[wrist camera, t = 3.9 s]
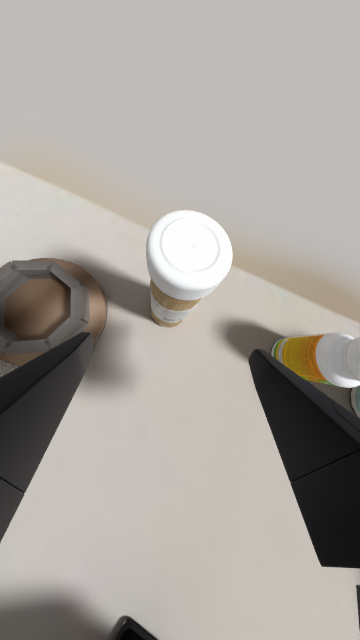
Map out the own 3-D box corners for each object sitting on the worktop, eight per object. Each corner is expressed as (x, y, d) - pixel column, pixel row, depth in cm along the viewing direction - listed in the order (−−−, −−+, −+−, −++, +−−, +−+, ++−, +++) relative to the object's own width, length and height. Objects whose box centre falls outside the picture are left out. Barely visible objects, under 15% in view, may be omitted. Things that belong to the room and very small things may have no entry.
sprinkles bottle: (187, 299, 22) (241, 221, 9) (181, 331, 21) (229, 299, 8) (154, 290, 21) (158, 193, 8) (146, 323, 20) (134, 273, 7)
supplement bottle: (275, 380, 22) (370, 403, 12) (265, 340, 22) (347, 333, 13) (308, 372, 23) (418, 388, 13) (297, 335, 23) (394, 324, 14)
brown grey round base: (128, 308, 20) (123, 299, 17) (50, 389, 17) (24, 398, 14) (54, 246, 20) (34, 225, 17) (-38, 317, 17) (-85, 309, 14)
